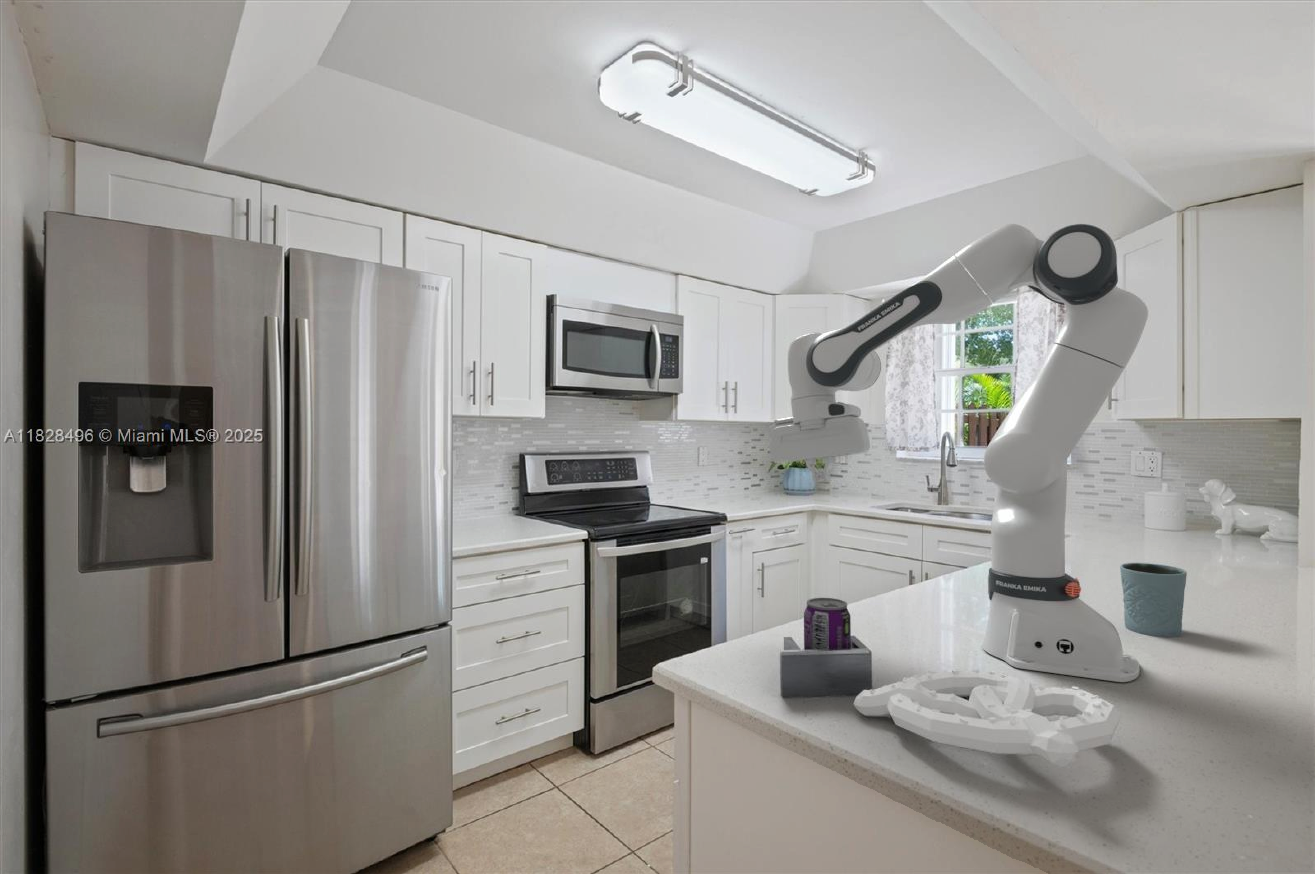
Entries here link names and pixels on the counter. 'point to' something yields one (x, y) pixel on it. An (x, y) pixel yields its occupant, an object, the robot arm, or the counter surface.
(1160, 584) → the teal embossed flower pot
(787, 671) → the grey u-shaped holder
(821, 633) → the beverage can
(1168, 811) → the counter surface
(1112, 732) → the pretzel
